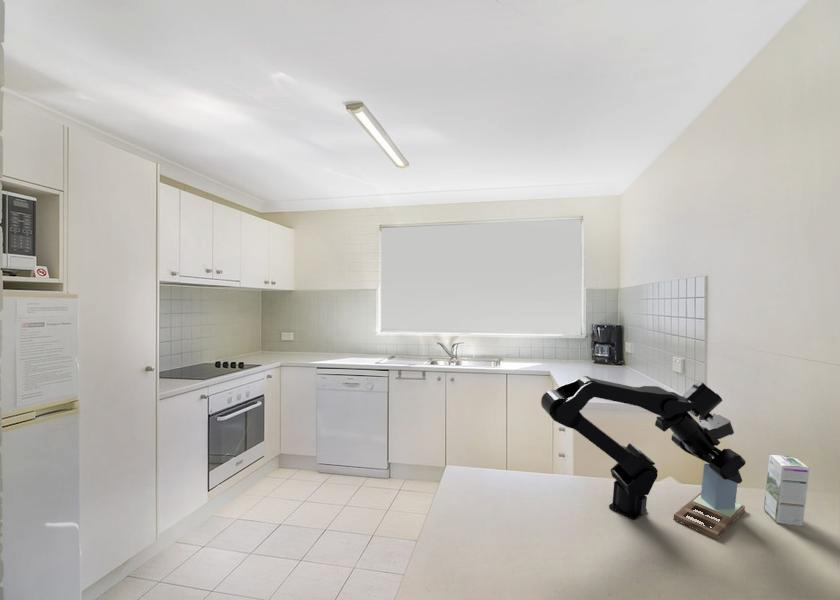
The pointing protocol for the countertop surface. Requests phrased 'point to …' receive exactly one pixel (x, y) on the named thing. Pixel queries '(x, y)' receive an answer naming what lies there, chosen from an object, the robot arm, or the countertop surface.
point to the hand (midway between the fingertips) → (726, 472)
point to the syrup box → (786, 489)
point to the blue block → (718, 490)
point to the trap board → (717, 527)
